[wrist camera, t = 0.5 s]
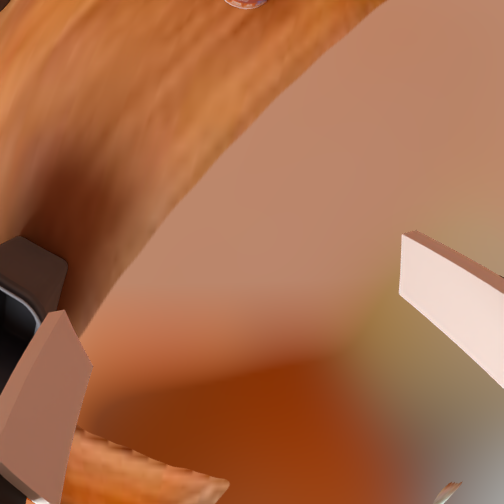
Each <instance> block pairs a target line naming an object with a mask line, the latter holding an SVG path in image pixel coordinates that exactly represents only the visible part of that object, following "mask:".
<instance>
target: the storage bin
mask: <svg viewBox="0 0 504 504" xmlns="http://www.w3.org/2000/svg"><path fill="white" fill-rule="evenodd" d="M67 270H68V264H67V262H66V261H65V260H64V259H62V258H60V257H58V256H56V255H54V254H52V253H51V252H49V251H47V250H45V249H43V248H41V247H40V246H38V245H36V244H34V243H32V242H31V241H29V240H27V239H25V238H24V237H22V236H17V237H15V238H13V239H11V240H9V241H7V242H5V243H3V244H1V245H0V393H1V392H2V391H3V389H4V388H5V386H6V384H7V382H8V380H9V378H10V376H11V374H12V373H13V371H14V369H15V367H16V365H17V364H18V362H19V360H20V358H21V357H22V355H23V353H24V351H25V350H26V348H27V346H28V345H29V343H30V341H31V340H32V338H33V337H34V335H35V333H36V332H37V330H38V329H39V327H40V325H41V324H42V322H43V321H44V319H45V318H46V316H47V315H48V313H49V312H54V311H56V310H57V306H58V302H59V298H60V294H61V290H62V286H63V283H64V280H65V276H66V273H67Z"/></svg>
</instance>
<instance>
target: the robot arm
mask: <svg viewBox="0 0 504 504" xmlns="http://www.w3.org/2000/svg"><path fill="white" fill-rule="evenodd" d="M9 1H10V0H0V11H1V10H2V9H3V8H4V7H5V6H6V4H7V3H8V2H9ZM399 295H401V296H402V297H403V298H404V299H405V300H407V301H408V302H409V303H410V304H411V305H413V306H414V307H415V308H416V309H417V310H418V311H419V312H421V313H422V314H423V315H424V316H425V317H426V318H428V319H429V320H430V321H431V322H432V323H433V324H435V325H436V326H437V327H438V328H439V329H440V330H441V331H442V332H444V333H445V334H446V335H447V336H448V337H449V338H450V339H451V340H452V341H454V342H455V343H456V344H457V345H458V346H459V347H460V348H461V349H462V350H463V351H465V352H466V353H467V354H468V355H469V356H470V357H471V358H472V359H473V360H474V361H475V362H476V363H477V364H479V365H480V366H481V367H482V368H483V369H484V370H485V371H486V372H487V373H488V374H489V375H490V376H491V377H492V378H493V379H494V380H495V381H497V383H498V384H499V385H500V386H502V388H503V389H504V277H502V276H499V275H497V274H495V273H494V272H492V271H490V270H489V269H487V268H485V267H483V266H482V265H480V264H478V263H476V262H475V261H473V260H471V259H469V258H468V257H466V256H464V255H462V254H460V253H458V252H457V251H455V250H453V249H451V248H449V247H447V246H445V245H444V244H442V243H440V242H438V241H436V240H434V239H432V238H430V237H428V236H426V235H424V234H422V233H420V232H418V231H412V232H408V233H404V234H402V248H401V272H400V286H399ZM92 368H93V366H92V364H91V362H90V360H89V358H88V356H87V354H86V353H85V351H84V349H83V347H82V345H81V343H80V341H79V339H78V337H77V335H76V333H75V331H74V329H73V327H72V325H71V323H70V320H69V318H68V316H67V314H66V312H65V310H59V311H54V312H49V313H48V315H47V316H46V318H45V319H44V321H43V322H42V324H41V325H40V327H39V329H38V330H37V332H36V333H35V335H34V337H33V338H32V340H31V341H30V343H29V345H28V346H27V348H26V350H25V351H24V353H23V355H22V357H21V358H20V360H19V362H18V364H17V365H16V367H15V369H14V371H13V373H12V374H11V376H10V378H9V380H8V382H7V384H6V386H5V388H4V389H3V391H2V392H1V393H0V504H25V503H26V498H29V499H30V500H31V501H33V502H34V503H36V504H60V501H61V495H62V489H63V483H64V478H65V473H66V468H67V463H68V458H69V453H70V449H71V445H72V440H73V436H74V432H75V428H76V424H77V420H78V416H79V412H80V409H81V405H82V401H83V398H84V395H85V391H86V388H87V384H88V381H89V378H90V374H91V371H92Z"/></svg>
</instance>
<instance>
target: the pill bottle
mask: <svg viewBox="0 0 504 504" xmlns="http://www.w3.org/2000/svg"><path fill="white" fill-rule="evenodd" d="M225 1H226V2H227V3H228V4H230V5H232V6H234V7H237V8H242V9H251V8H256V7H259V6H261V5H262V4H264V3H265V2H266V1H267V0H225Z"/></svg>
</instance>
